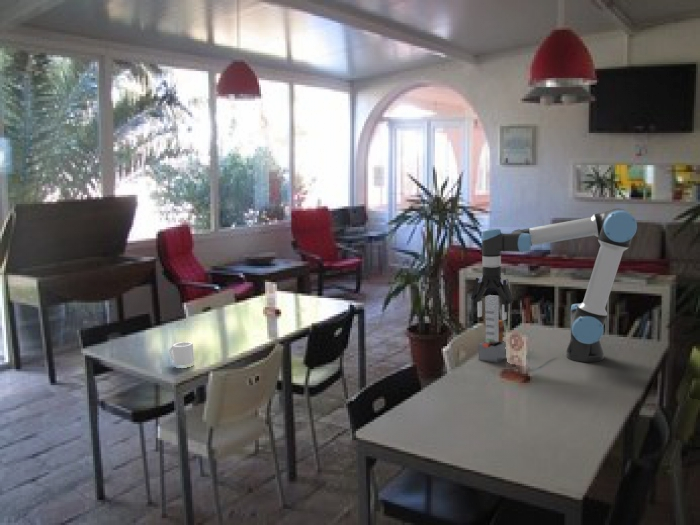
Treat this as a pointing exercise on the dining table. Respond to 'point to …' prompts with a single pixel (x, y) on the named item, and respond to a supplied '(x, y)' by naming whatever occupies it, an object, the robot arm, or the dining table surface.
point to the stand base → (492, 351)
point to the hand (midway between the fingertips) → (492, 318)
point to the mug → (501, 330)
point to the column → (492, 319)
